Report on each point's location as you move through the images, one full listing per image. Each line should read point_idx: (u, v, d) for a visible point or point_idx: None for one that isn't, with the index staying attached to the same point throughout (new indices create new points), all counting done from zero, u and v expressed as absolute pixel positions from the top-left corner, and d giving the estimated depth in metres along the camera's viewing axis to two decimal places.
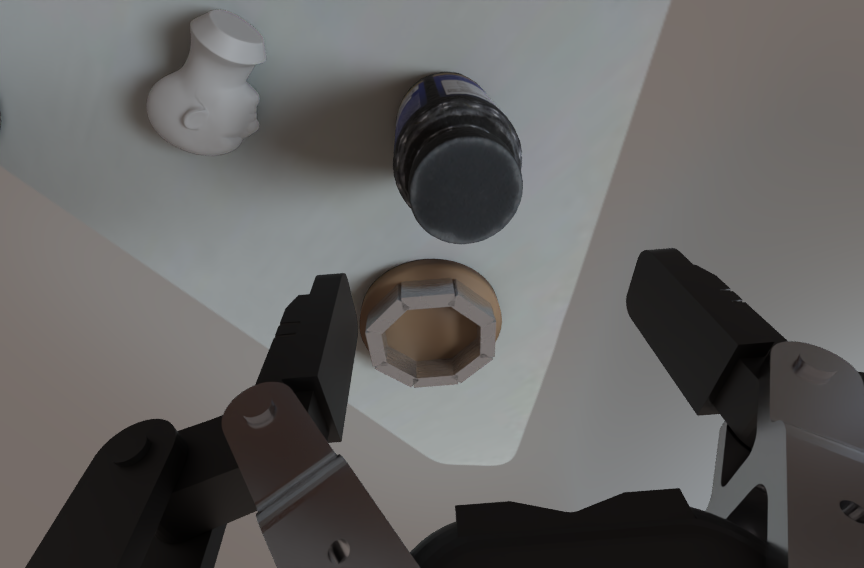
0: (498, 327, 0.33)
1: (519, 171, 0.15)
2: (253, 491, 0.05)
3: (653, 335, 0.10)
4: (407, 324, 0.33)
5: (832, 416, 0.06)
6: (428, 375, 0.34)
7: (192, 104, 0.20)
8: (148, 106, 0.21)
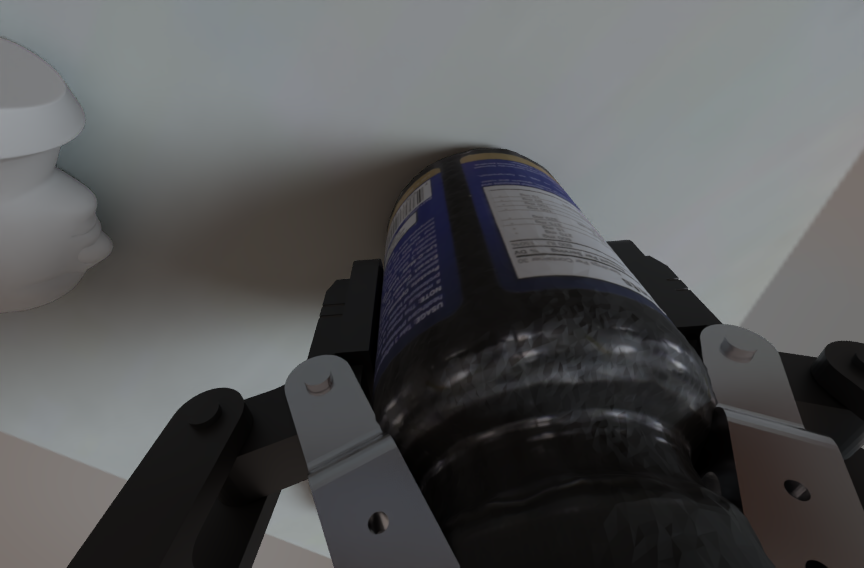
0: None
1: None
2: (307, 453, 0.06)
3: None
4: None
5: (761, 393, 0.06)
6: None
7: None
8: None
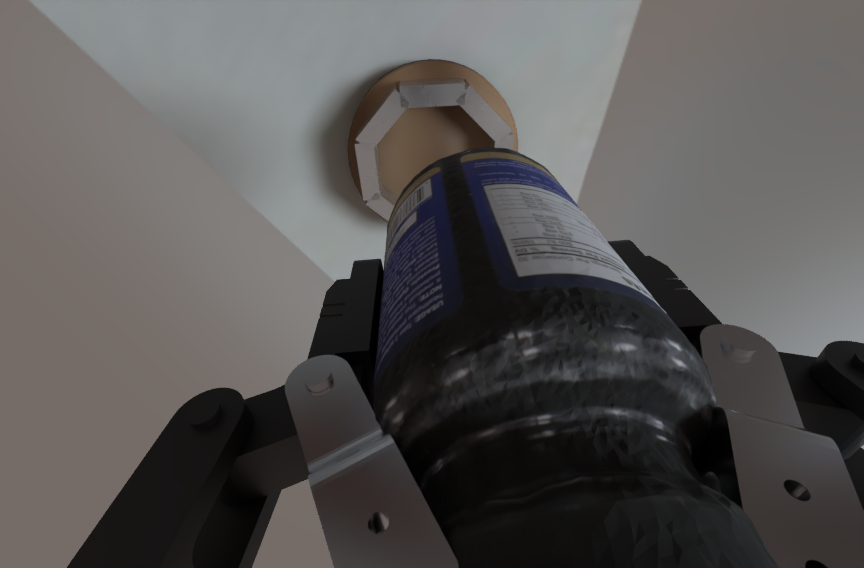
0: None
1: None
2: (307, 452, 0.06)
3: None
4: (405, 152, 0.27)
5: (761, 393, 0.06)
6: None
7: None
8: None
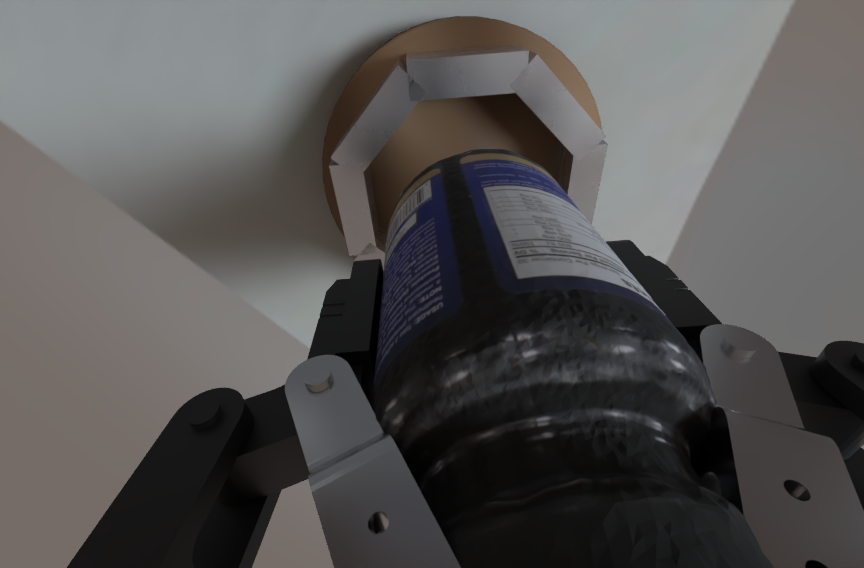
0: None
1: None
2: (306, 453, 0.06)
3: None
4: None
5: (761, 393, 0.06)
6: None
7: None
8: None
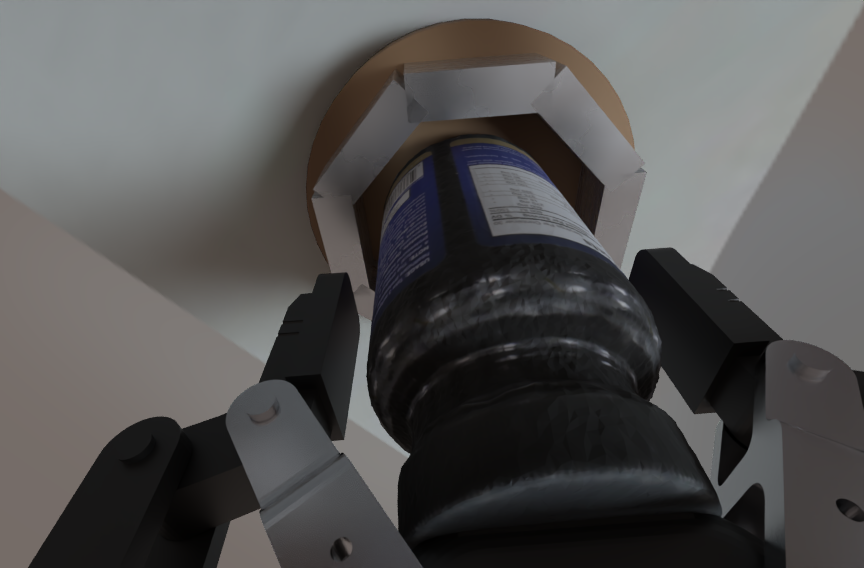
0: None
1: (719, 513, 0.05)
2: (257, 489, 0.06)
3: None
4: None
5: (827, 414, 0.06)
6: None
7: None
8: None
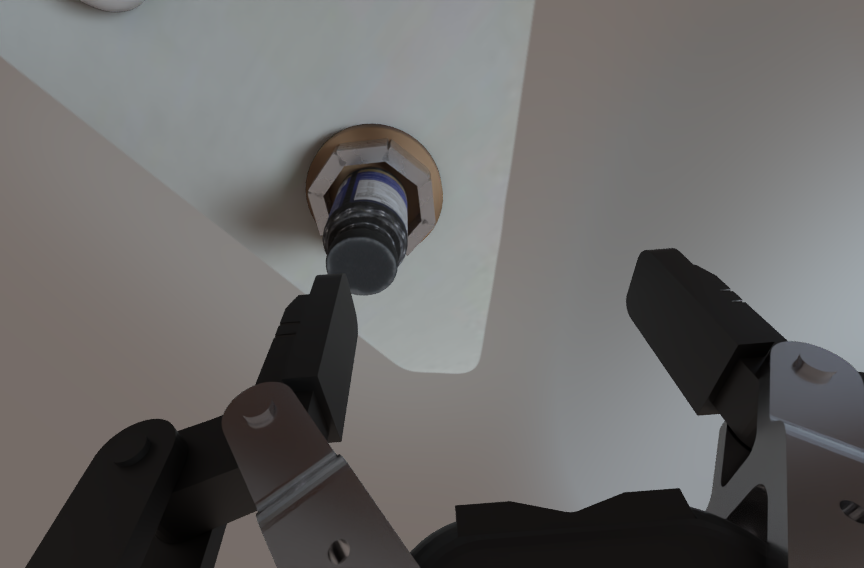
0: (440, 198, 0.35)
1: (391, 254, 0.25)
2: (252, 492, 0.05)
3: (653, 335, 0.10)
4: None
5: (832, 416, 0.06)
6: None
7: None
8: None
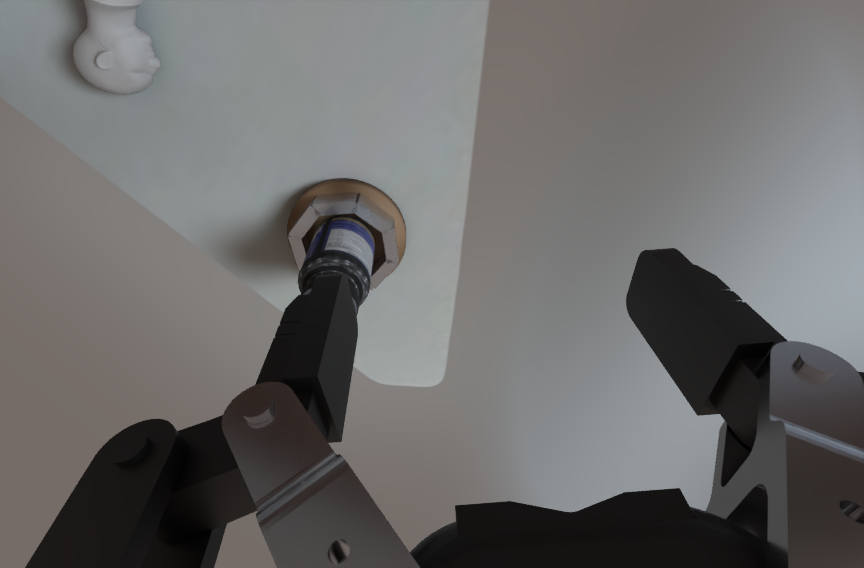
0: (403, 240, 0.40)
1: (352, 298, 0.31)
2: (253, 491, 0.05)
3: (653, 335, 0.10)
4: None
5: (832, 416, 0.06)
6: None
7: (99, 50, 0.28)
8: (74, 61, 0.29)
